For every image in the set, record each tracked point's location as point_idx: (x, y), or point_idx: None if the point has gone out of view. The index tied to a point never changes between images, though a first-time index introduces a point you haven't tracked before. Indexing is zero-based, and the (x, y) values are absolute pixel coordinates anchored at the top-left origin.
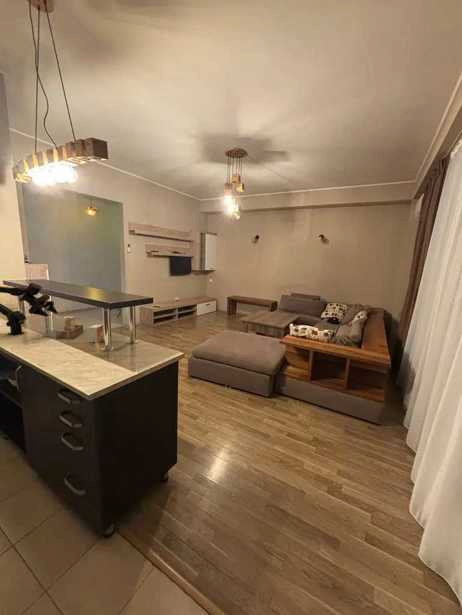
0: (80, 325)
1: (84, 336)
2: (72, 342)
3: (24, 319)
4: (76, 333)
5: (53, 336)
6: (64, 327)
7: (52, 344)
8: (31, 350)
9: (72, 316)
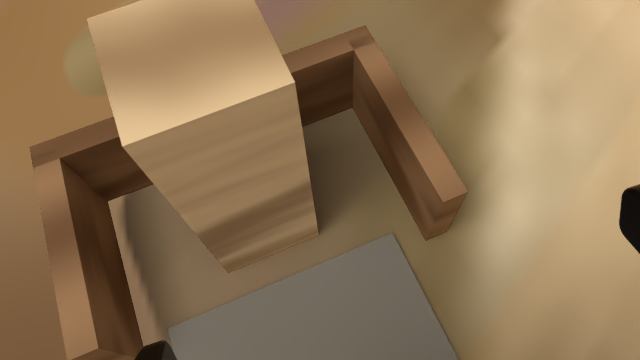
0: (65, 154)
1: None
2: (441, 10)
3: None
4: None
5: (422, 308)
6: (308, 181)
7: (590, 100)
8: None
9: (107, 44)
